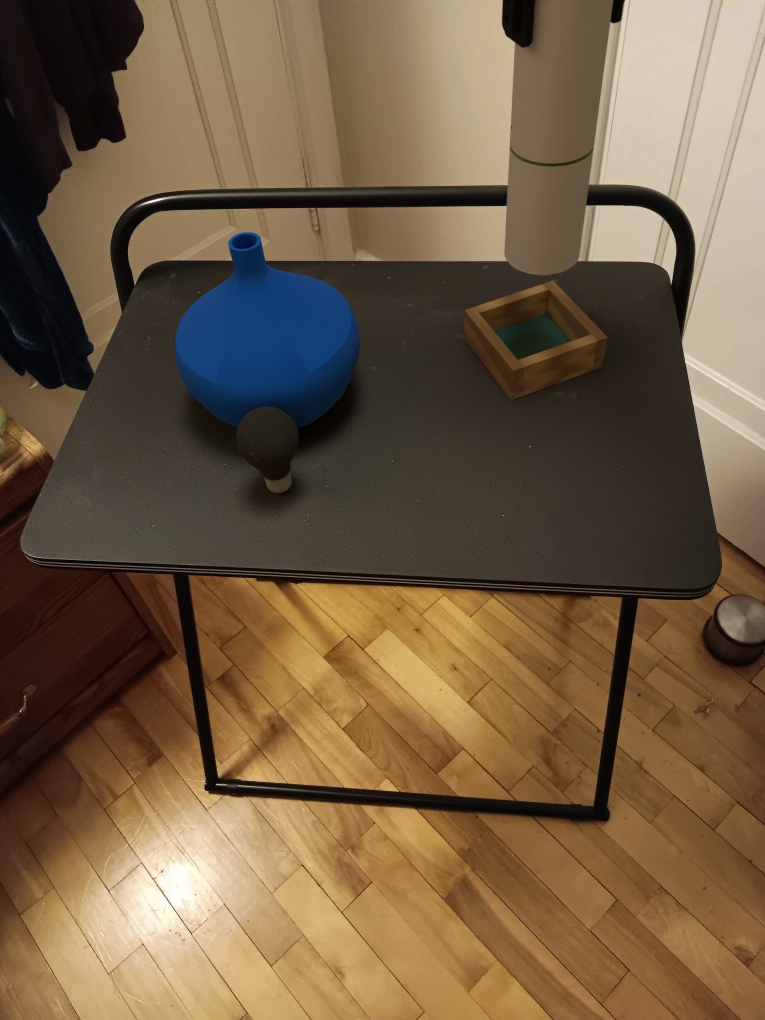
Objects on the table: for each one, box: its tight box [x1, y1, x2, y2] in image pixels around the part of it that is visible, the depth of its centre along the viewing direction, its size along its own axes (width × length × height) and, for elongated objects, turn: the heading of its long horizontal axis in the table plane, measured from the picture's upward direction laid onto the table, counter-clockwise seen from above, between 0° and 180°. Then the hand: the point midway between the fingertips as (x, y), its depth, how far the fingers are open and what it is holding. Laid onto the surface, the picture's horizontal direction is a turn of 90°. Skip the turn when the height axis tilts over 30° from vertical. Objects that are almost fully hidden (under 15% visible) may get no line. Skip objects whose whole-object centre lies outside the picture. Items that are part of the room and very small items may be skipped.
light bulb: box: [235, 406, 300, 494], centre depth 76 cm, size 6×6×10 cm
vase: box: [173, 231, 361, 430], centre depth 81 cm, size 18×18×19 cm
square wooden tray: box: [463, 280, 608, 401], centre depth 88 cm, size 11×11×4 cm
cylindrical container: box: [503, 0, 613, 276], centre depth 70 cm, size 7×7×25 cm
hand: (562, 27), depth 64 cm, fingers closed on cylindrical container, 7 cm apart
